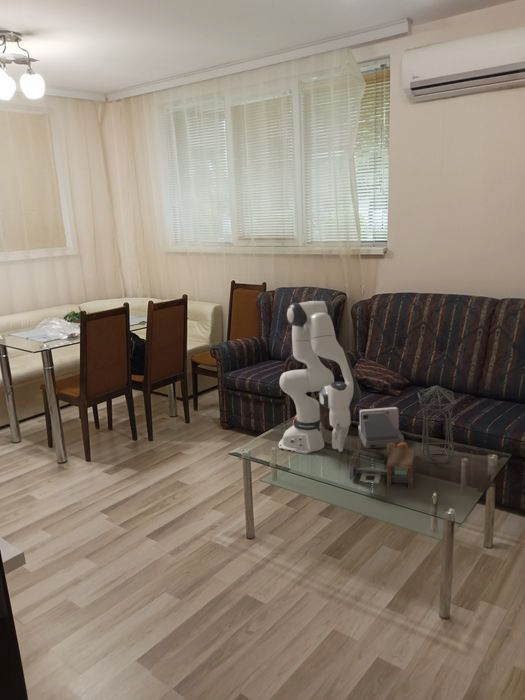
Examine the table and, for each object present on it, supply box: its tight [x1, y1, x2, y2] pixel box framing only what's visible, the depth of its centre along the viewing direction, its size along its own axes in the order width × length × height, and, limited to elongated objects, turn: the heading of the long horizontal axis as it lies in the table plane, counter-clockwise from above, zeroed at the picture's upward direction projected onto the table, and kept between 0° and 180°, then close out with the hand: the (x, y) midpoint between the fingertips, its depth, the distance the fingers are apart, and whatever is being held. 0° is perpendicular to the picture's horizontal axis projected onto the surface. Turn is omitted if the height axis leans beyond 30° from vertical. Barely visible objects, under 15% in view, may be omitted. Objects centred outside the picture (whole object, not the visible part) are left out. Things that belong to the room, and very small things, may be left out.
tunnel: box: [386, 448, 415, 489], centre depth 237 cm, size 10×14×10 cm
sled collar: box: [348, 450, 408, 484], centre depth 239 cm, size 25×14×8 cm, turn 72°
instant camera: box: [357, 406, 405, 449], centre depth 275 cm, size 21×21×15 cm
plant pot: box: [314, 394, 333, 430], centre depth 294 cm, size 15×15×16 cm
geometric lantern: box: [416, 384, 458, 464], centre depth 248 cm, size 16×16×35 cm
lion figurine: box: [385, 441, 410, 454], centre depth 255 cm, size 15×5×9 cm, turn 128°
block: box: [394, 467, 408, 476], centre depth 237 cm, size 5×5×5 cm
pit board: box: [359, 467, 382, 484], centre depth 242 cm, size 8×12×1 cm, turn 162°
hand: (341, 450), depth 242 cm, fingers closed
